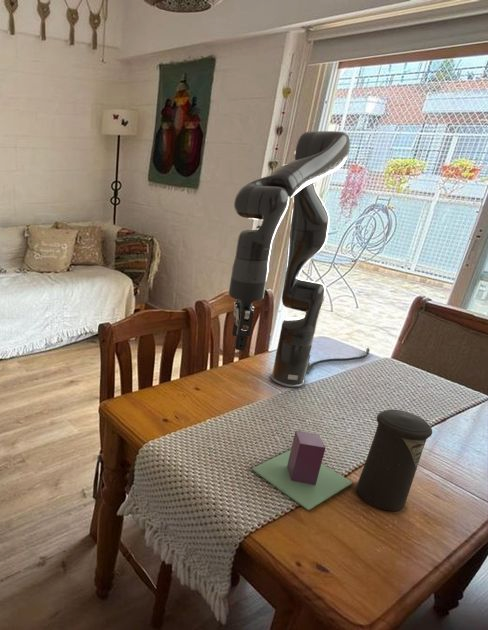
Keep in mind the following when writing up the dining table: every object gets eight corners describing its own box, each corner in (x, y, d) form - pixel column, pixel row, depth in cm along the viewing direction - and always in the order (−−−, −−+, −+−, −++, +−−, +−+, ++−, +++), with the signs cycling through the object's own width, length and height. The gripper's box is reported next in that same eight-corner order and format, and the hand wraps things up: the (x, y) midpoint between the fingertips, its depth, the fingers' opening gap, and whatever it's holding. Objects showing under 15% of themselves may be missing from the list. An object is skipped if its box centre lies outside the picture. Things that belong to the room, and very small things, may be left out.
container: (406, 519, 88) (437, 436, 81) (354, 501, 93) (379, 421, 85) (403, 492, 95) (431, 414, 88) (354, 477, 99) (378, 401, 92)
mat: (295, 448, 109) (295, 447, 109) (352, 484, 97) (352, 482, 97) (251, 469, 101) (251, 468, 101) (308, 510, 90) (308, 509, 90)
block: (286, 466, 102) (295, 430, 99) (310, 470, 101) (319, 434, 97) (291, 480, 98) (300, 443, 94) (315, 485, 96) (325, 447, 93)
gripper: (271, 287, 92) (258, 357, 98) (262, 270, 105) (251, 333, 110) (233, 284, 94) (223, 352, 99) (229, 268, 107) (220, 329, 112)
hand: (238, 342), depth 105 cm, fingers open, 8 cm apart
